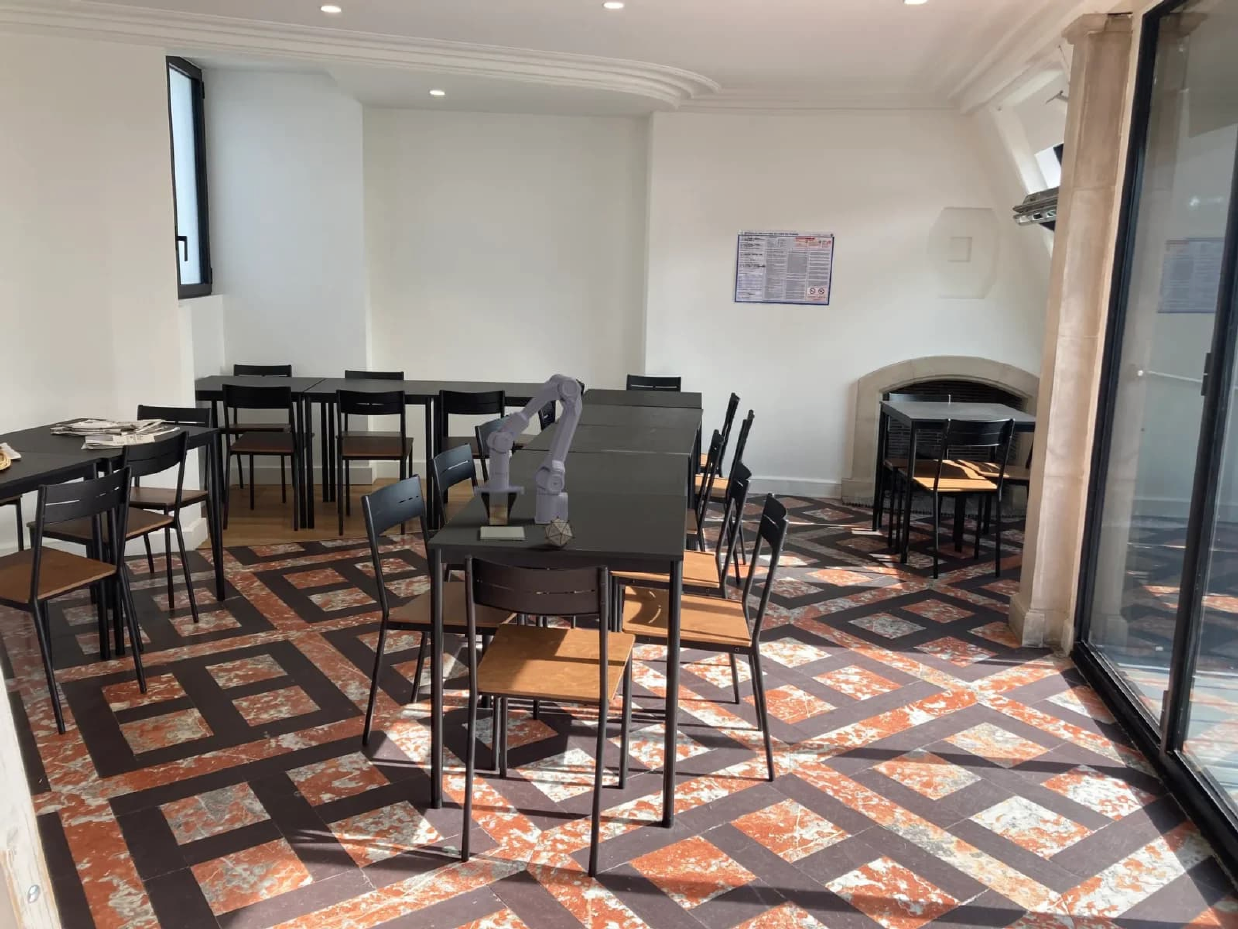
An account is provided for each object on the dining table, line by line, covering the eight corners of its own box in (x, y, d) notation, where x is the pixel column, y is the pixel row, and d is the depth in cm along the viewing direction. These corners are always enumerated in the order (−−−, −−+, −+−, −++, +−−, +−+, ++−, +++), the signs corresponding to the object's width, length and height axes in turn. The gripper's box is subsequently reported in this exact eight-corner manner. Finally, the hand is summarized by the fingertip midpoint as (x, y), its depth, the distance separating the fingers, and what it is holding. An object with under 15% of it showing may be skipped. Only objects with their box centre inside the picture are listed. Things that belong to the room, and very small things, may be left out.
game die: (553, 558, 259) (551, 524, 264) (581, 550, 257) (578, 516, 261) (538, 548, 252) (535, 514, 256) (566, 541, 249) (563, 506, 253)
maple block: (506, 520, 280) (507, 503, 279) (507, 524, 275) (507, 507, 274) (489, 520, 279) (489, 503, 278) (489, 524, 274) (490, 507, 273)
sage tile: (522, 530, 272) (522, 527, 272) (524, 540, 262) (524, 537, 261) (480, 530, 271) (480, 526, 270) (480, 540, 260) (480, 536, 260)
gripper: (523, 469, 279) (522, 514, 282) (474, 469, 277) (473, 514, 280) (524, 474, 272) (523, 520, 275) (473, 474, 270) (473, 520, 273)
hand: (498, 517), depth 277 cm, fingers closed on maple block, 5 cm apart
